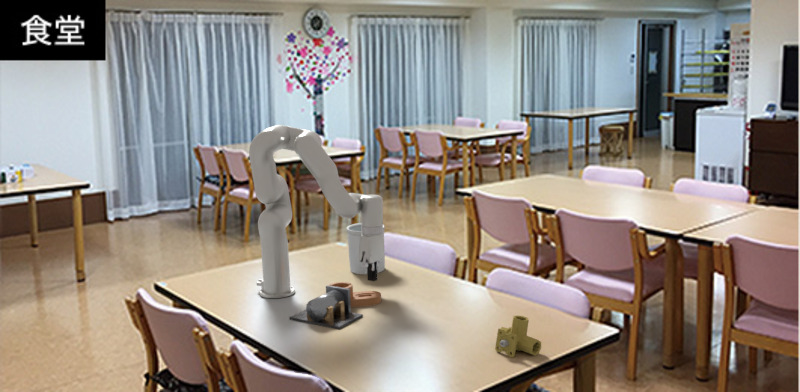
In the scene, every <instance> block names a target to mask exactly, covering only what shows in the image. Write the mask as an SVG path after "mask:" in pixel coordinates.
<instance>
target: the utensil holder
mask: <svg viewBox="0 0 800 392" xmlns="http://www.w3.org/2000/svg"><path fill="white" fill-rule="evenodd" d="M361 225H362V223H361V222H359V223H358V222H357V223H353V224H350V225H349V224H348V226H346V234H347V245H348V258H349V260H348V261H349V270H350V272H351V273H352V274H357V275H367V269H366V267H362V265H363V262H359V243H360V237H361V235H362V232H361ZM385 230H386V229H385V224H383V239H384V240H385ZM385 255H386V252H385V250H384V257H383V258H382V261H381V262H380V263H379V265H378V269H377V274H379V273H381V272H383V271H385V267H386V264H385V263H386V259H385Z"/></svg>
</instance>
